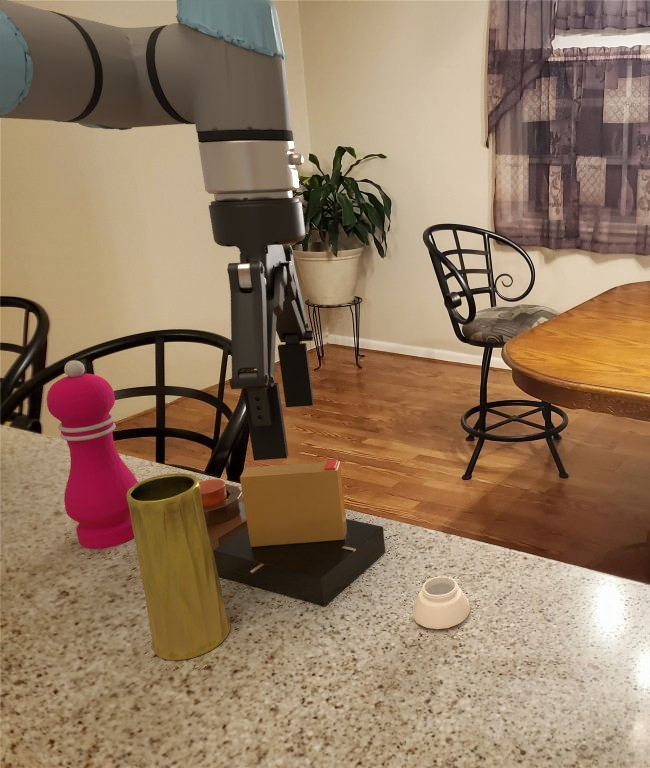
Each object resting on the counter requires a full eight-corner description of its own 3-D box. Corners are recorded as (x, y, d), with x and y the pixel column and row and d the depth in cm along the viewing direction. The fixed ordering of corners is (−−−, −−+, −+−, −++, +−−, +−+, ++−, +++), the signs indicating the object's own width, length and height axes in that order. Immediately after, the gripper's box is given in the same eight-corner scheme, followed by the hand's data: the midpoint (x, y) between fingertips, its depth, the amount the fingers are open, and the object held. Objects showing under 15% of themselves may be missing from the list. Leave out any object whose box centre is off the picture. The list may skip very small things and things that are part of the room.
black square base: (313, 617, 61) (309, 587, 60) (203, 586, 66) (198, 557, 65) (394, 544, 72) (392, 518, 71) (295, 522, 78) (292, 497, 77)
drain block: (152, 538, 75) (145, 505, 74) (209, 506, 82) (204, 475, 81) (221, 556, 71) (215, 522, 70) (275, 521, 78) (270, 489, 77)
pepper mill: (58, 544, 74) (13, 367, 68) (117, 514, 80) (80, 349, 74) (106, 557, 71) (63, 373, 65) (163, 524, 78) (128, 354, 72)
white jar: (427, 640, 58) (479, 619, 60) (425, 610, 57) (478, 591, 59) (404, 609, 62) (454, 591, 64) (402, 581, 61) (452, 564, 63)
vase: (181, 672, 55) (148, 512, 50) (137, 646, 58) (103, 493, 53) (245, 629, 60) (220, 480, 55) (202, 607, 63) (175, 464, 58)
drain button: (184, 505, 74) (181, 490, 74) (210, 491, 78) (208, 476, 77) (209, 510, 73) (206, 495, 72) (234, 496, 76) (232, 481, 76)
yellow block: (250, 547, 67) (239, 474, 64) (256, 535, 69) (245, 465, 67) (344, 539, 68) (336, 468, 65) (347, 528, 70) (339, 458, 67)
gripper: (267, 201, 47) (304, 483, 53) (321, 190, 70) (343, 386, 77) (152, 205, 46) (204, 490, 53) (246, 193, 70) (274, 390, 76)
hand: (287, 429), depth 65 cm, fingers open, 13 cm apart
